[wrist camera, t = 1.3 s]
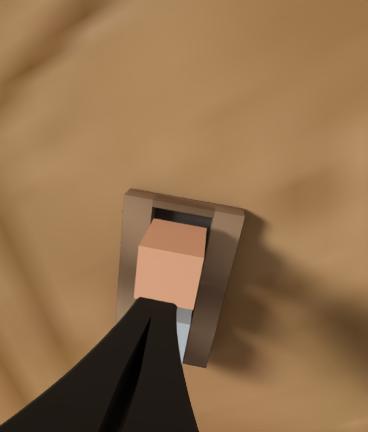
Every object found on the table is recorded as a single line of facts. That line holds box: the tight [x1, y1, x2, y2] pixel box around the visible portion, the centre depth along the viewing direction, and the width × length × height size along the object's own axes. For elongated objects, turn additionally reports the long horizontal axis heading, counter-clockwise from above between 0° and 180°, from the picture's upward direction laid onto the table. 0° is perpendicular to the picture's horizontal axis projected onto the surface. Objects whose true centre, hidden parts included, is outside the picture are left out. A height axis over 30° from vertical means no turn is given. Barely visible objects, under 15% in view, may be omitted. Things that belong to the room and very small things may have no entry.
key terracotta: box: [134, 219, 207, 310], centre depth 14 cm, size 3×3×3 cm
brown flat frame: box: [115, 189, 245, 368], centre depth 18 cm, size 12×7×1 cm, turn 172°
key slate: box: [177, 307, 192, 363], centre depth 15 cm, size 3×3×3 cm
